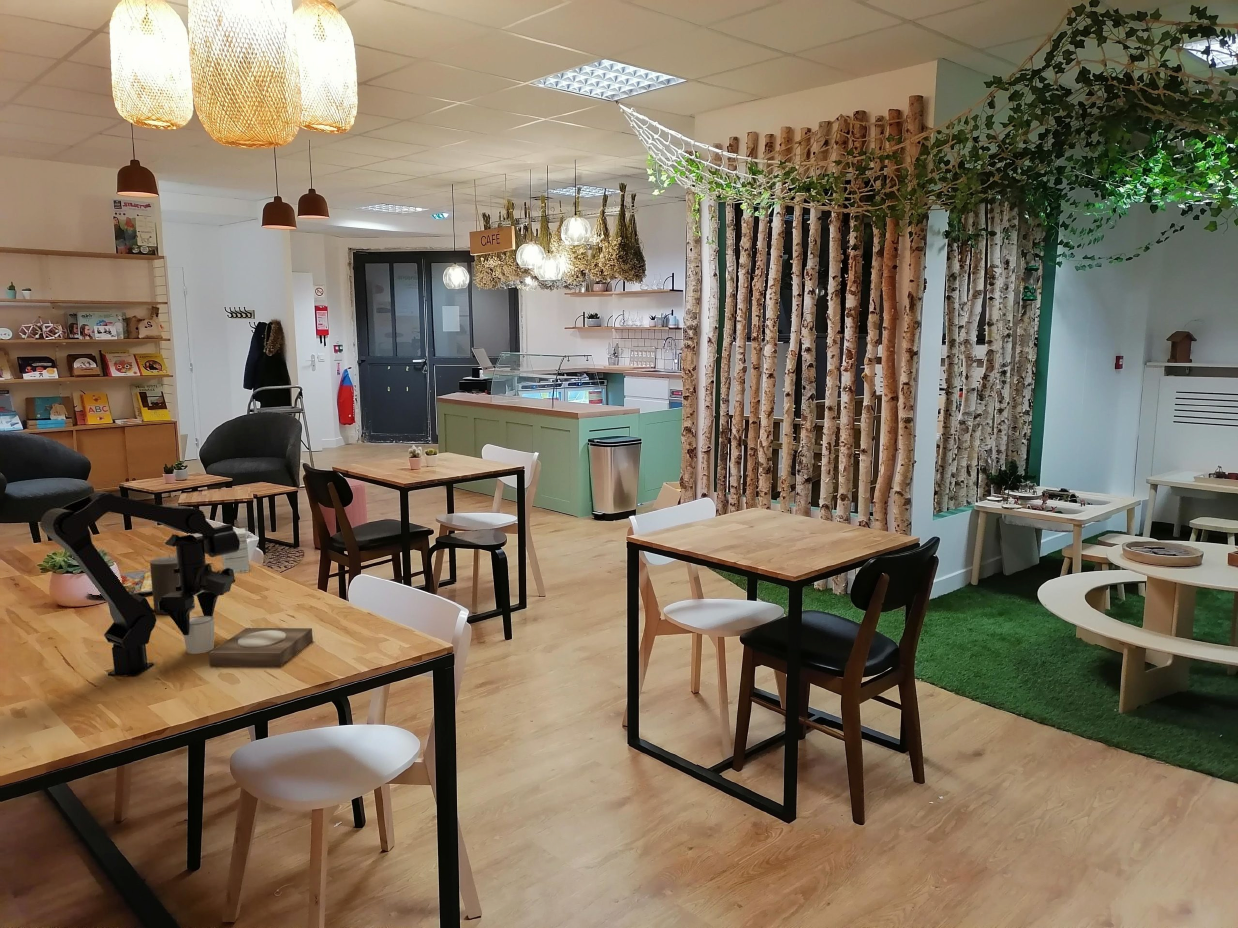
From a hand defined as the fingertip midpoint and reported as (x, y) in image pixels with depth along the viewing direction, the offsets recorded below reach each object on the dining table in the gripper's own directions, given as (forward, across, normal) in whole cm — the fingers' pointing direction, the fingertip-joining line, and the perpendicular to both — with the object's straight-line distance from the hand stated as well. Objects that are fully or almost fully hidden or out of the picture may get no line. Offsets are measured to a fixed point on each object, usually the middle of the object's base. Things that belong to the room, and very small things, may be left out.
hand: (197, 628), depth 196 cm
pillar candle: (+5, +29, +24) cm, 38 cm away
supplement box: (+5, +66, +27) cm, 72 cm away
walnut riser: (+5, -2, -16) cm, 17 cm away
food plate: (+6, +49, +48) cm, 69 cm away
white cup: (+5, 0, 0) cm, 5 cm away
